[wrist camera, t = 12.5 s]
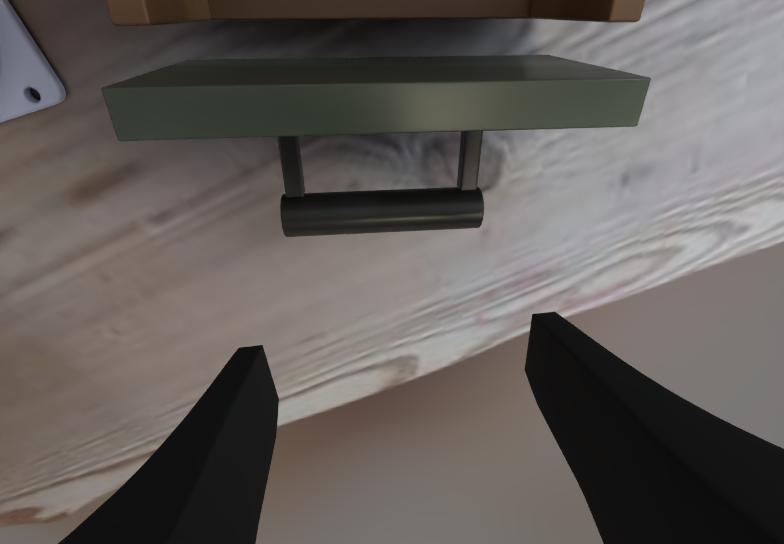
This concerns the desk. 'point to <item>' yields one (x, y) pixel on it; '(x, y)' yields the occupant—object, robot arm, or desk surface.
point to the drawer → (372, 99)
